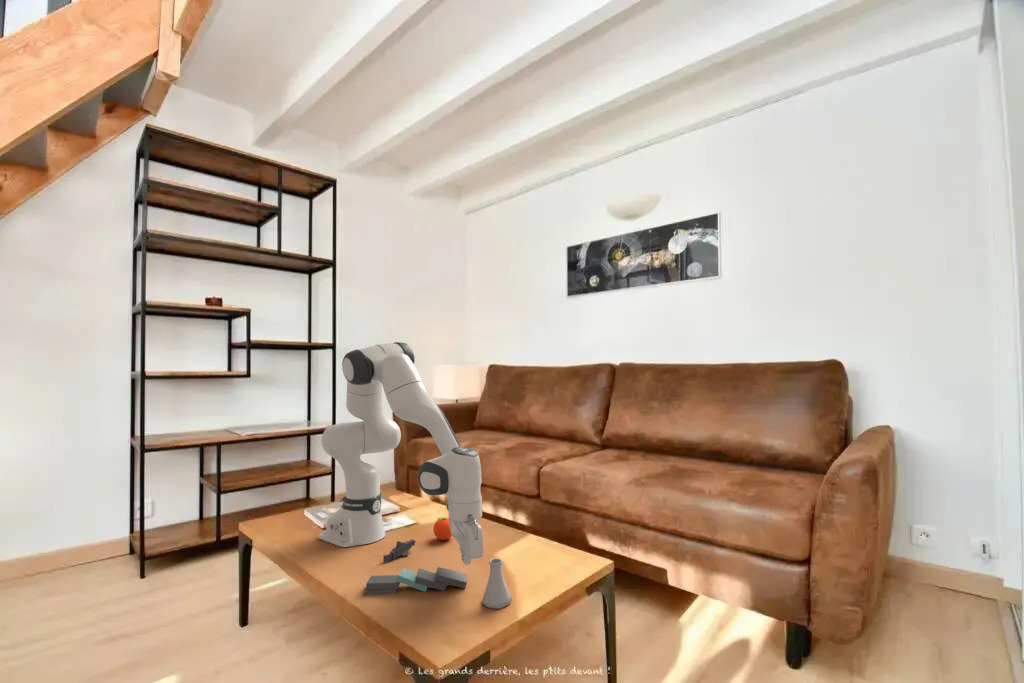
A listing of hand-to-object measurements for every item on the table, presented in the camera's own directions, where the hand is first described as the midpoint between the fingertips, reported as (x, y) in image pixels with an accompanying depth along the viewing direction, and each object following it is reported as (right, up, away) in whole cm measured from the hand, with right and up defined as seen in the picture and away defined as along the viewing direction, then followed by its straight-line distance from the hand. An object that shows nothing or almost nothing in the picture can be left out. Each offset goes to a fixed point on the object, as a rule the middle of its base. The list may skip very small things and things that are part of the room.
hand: (466, 562), depth 128 cm
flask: (+8, -6, -10) cm, 14 cm away
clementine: (-11, -7, +32) cm, 35 cm away
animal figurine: (-22, -7, +19) cm, 30 cm away
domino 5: (0, -5, 0) cm, 5 cm away
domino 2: (-18, -6, -2) cm, 19 cm away
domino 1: (-17, -4, -1) cm, 18 cm away
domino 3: (-10, -5, -2) cm, 11 cm away
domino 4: (-5, -5, -1) cm, 7 cm away
